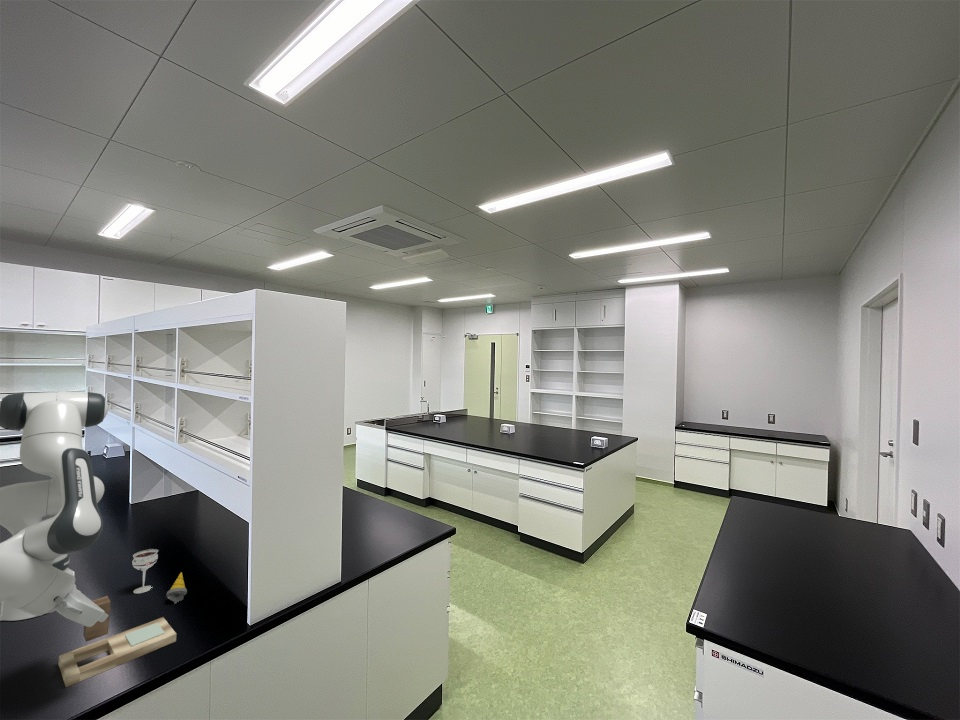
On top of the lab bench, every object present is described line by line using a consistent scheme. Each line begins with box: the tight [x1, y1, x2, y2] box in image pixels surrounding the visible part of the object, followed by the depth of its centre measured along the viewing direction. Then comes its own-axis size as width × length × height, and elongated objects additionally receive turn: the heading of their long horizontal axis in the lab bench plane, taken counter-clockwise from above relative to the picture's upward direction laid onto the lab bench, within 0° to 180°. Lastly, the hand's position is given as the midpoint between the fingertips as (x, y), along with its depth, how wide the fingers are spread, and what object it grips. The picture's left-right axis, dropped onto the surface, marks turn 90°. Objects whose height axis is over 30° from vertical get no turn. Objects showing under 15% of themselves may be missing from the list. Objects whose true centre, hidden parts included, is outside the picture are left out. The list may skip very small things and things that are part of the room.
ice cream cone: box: [165, 571, 188, 605], centre depth 128 cm, size 5×5×10 cm
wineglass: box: [131, 548, 159, 594], centre depth 133 cm, size 7×7×12 cm
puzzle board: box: [57, 616, 177, 688], centre depth 103 cm, size 12×21×2 cm, turn 143°
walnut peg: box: [82, 595, 111, 642], centre depth 99 cm, size 4×4×8 cm
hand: (100, 614), depth 100 cm, fingers closed on walnut peg, 4 cm apart
